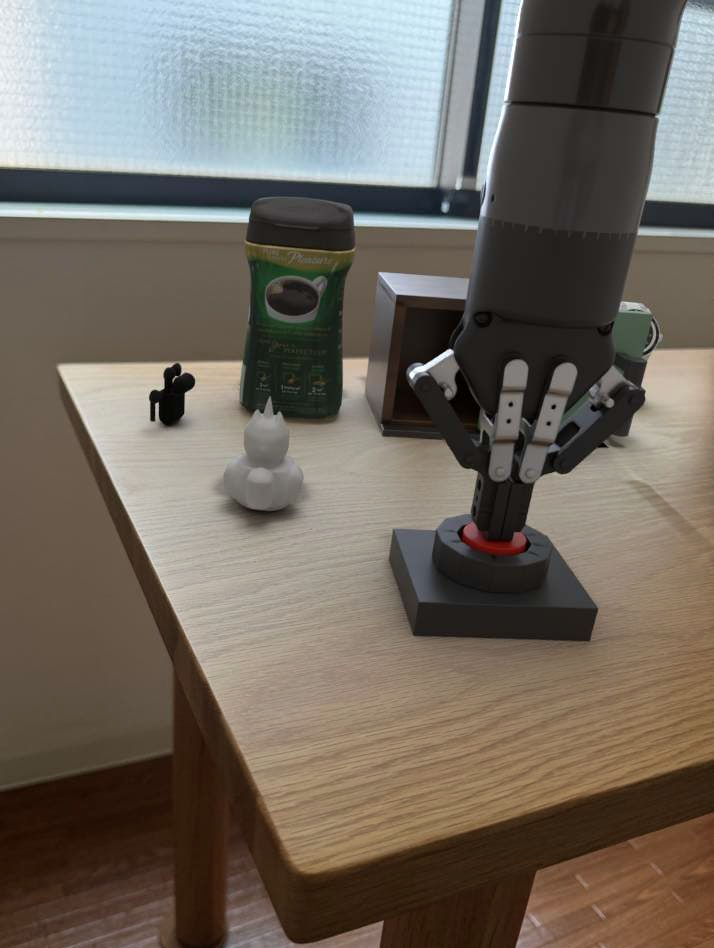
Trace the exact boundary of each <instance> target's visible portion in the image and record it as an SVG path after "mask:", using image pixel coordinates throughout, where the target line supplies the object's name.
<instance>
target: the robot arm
mask: <svg viewBox="0 0 714 948" xmlns="http://www.w3.org/2000/svg"><path fill="white" fill-rule="evenodd" d="M689 1H690V0H521V1H520V5H519V10H518V13H517V14H518V15H517V18H516V23H515V31H514V38H513V43H512V50H511V55H510V62H509V67H508V75H507V80H506V86H505V92H504V98H503V101H504V103H505V104H503V105H502V107H501V111H500V112H501V113H500V118H499V121H498V125H497V129H496V132H495V135H494V139H493V142H492V145H491V149H490V153H489V158H488V163H487V166H486V167H487V168H486V174H485V179H484V181H483V183H482V186H481V191H480V195H479V202H480V210H479V211H480V212H479V218H478V225H477V230H476V236H475V243H474V249H473V254H472V260H471V267H470V273H469V278H468V279H469V285H468V291H467V297H466V304H465V311H464V315H463V318H462V320H461V322H460V324H459V325H458V327H457V328H456V330H455V331H454V332H453V334H452V336H451V338H450V343H449V350H447V351H446V352H444V353H443V354H441V355H439V356H438V357H436V358H435V359H433V360H432V361H430V362H429V363H427V364H426V365H424V364H421V363H415V364H412V365H411V366H410V367H409V368H408V369H407V372H406V378H407V380H408V382H409V383H410V385H411V387H412V388H413V390H414V392H415V393H416V395H417V397H418V398H419V400H420V401H421V403H422V405H423V406H424V408H425V409H426V411H427V413H428V414H429V416H430V417H431V419H432V421H433V422H434V424H435V426H436V427H437V429H438V430H439V432H440V434H441V435H442V437H443V438H444V439H443V440H444V442H445V443H446V445H447V447H448V448H449V450H450V451H451V453H452V455H453V456H454V458H455V459H456V461H457V463H458V464H459V466H460V467H461V468H462V469H465V470H473V471H475V472H477V475H476V480H475V484H474V485H475V486H474V492H473V497H472V501H471V502H472V503H471V507H470V514H471V516H472V520H473V522H474V523H475V525H476V527H477V529H478V531H480V532H481V533H482V535H483V537H484V539H485V540H486V541H508V542H511V541H512V539H513V536H514V532H521V531H522V529H523V528H524V526H525V524H526V525H527V519H528V514H529V511H530V510H529V508H530V506H531V501H532V496H533V492H534V487H535V485H536V482H537V481H538V480H539V479H540V478H541V477H543V476H546V475H549V474H553V473H556V474H559V475H568V474H569V473H571V472H572V471H573V470H575V468H577V467H578V466H579V465H580V464H581V463H582V462H583V461H584V460H585V459H587V457H589V455H591V454H592V453H593V452H594V451H595V450H596V449H597V447H598V446H599V445H600V444H602V443H603V442H604V443H605V441H607V439H608V438H609V437H611V436H612V434H613V433H614V432H615V431H616V430H617V429H618V428H619V427H620V426H621V425H622V424H623V423H625V422H626V421H627V420H628V419H629V418H630V417H631V416H632V415H633V414H634V415H635V414H636V413H637V412H638V411H639V410H640V409H641V408H642V407H643V406H644V405H645V402H646V393H645V394H644V393H643V391H641V390H640V389H638V387H637V386H635V385H634V384H632V383H631V382H630V381H628V380H626V379H625V378H624V377H623V375H622V374H621V373H620V372H619V371H618V370H617V369H616V368H615V367H614V366H613V363H614V360H615V347H614V344H613V340H612V329H613V325H614V323H615V321H616V318H617V316H618V312H619V308H620V304H621V301H622V300H623V296H624V291H625V287H626V282H627V279H628V275H629V270H630V267H631V262H632V258H633V254H634V251H635V250H634V249H635V246H636V242H637V237H638V233H639V229H640V224H641V220H642V217H643V212H644V208H645V204H646V199H647V195H648V193H649V188H650V184H651V179H652V173H653V168H654V161H655V151H656V141H657V133H658V127H659V122H660V118H659V117H657V116H660V115H661V114H662V110H663V106H664V105H663V104H664V101H665V97H666V93H667V88H668V84H669V80H670V75H671V71H672V67H673V64H674V59H675V54H676V49H677V45H678V40H679V36H680V35H679V34H680V29H681V24H682V19H683V16H684V14H685V10H686V8H687V6H688V4H689ZM458 370H459V371H460V373H461V374H462V376H463V378H464V380H465V382H466V384H467V386H468V388H469V389H470V391H471V393H472V395H473V397H474V399H475V400H476V402H477V403H478V404H479V406H480V407H481V408H480V425H481V433H480V441H476V440H473V439H471V438H470V436H469V435H468V433H467V431H466V430H465V428H464V426H463V425H462V423H461V421H460V420H459V418H458V416H457V415H456V413H455V411H454V410H453V408H452V406H451V405H450V403H449V400H450V399H452V398H453V397H454V396H455V394H456V392H457V385H456V383H455V375H456V373H457V372H458ZM588 391H589V392H588ZM587 392H588V400H587V401H586V402H585V403H584V404H583V405H582V406H581V407H580V408H579V409H578V410H577V411H576V412H575V413H574V414H573V415H571V416H570V417H569V418H568V419H567V420H566V421H565V422H564V423H563V424H562V425H561V426H560V423H561V419H562V416H563V415H564V414H565V413H567V412H568V411H569V410H570V409H571V408H572V407H573V406H574V405H575V404H576V403H577V402H578V401H579V400H580V399H581V398H582V397H583V396H584V395H585V394H586V393H587ZM634 415H633V416H634ZM559 426H560V427H559Z"/></svg>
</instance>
